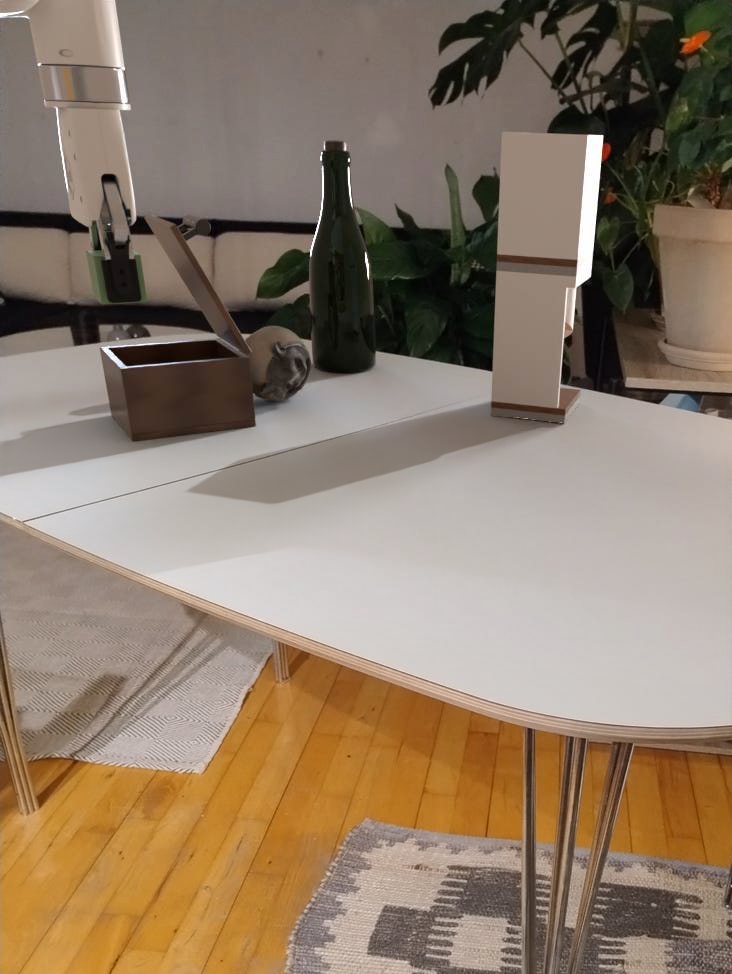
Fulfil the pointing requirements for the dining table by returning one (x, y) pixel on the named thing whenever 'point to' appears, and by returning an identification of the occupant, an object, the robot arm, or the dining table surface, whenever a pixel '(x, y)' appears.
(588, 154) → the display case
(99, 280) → the block
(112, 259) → the robot arm
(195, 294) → the chest door
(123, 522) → the dining table surface
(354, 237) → the dark green glass bottle
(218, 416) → the chest
